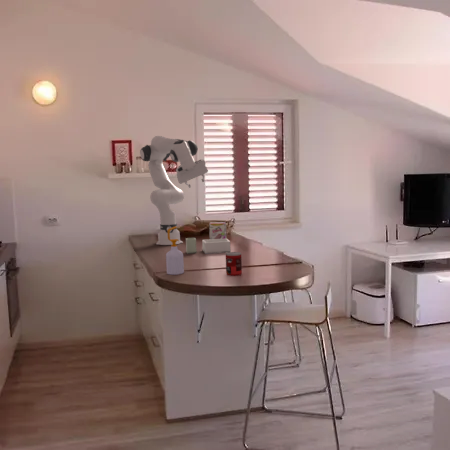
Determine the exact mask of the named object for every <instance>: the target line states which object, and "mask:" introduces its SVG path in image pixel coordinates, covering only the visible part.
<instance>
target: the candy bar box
mask: <svg viewBox="0 0 450 450" xmlns="http://www.w3.org/2000/svg"><path fill="white" fill-rule="evenodd" d="M208 229H209V230H208V232H209V233H208V234H209V239H225V238H227V222H224V221H223V222H222V221H221V222H219V221H218V222H213V221H212V222H211V221H210V222H209V224H208Z"/></svg>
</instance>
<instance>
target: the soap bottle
mask: <svg viewBox="0 0 450 450" xmlns="http://www.w3.org/2000/svg"><path fill="white" fill-rule="evenodd" d="M175 228H177V229H178V226H177V227H176V226H175V227H172V228H169V229H168V231H167V232H168V240H170V241H171V242H172V244H173V245H170V250H169V251H167V252H166V254H165V262H166V274H167V275H172V276H176V275H177V276H178V275H181V274H184V273H185V269H184V268H185V267H184V254H183V251H181V250H180V249H178V244H176V242H177V241H179V240H178V239H170V231H171V230H173V229H175Z"/></svg>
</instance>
